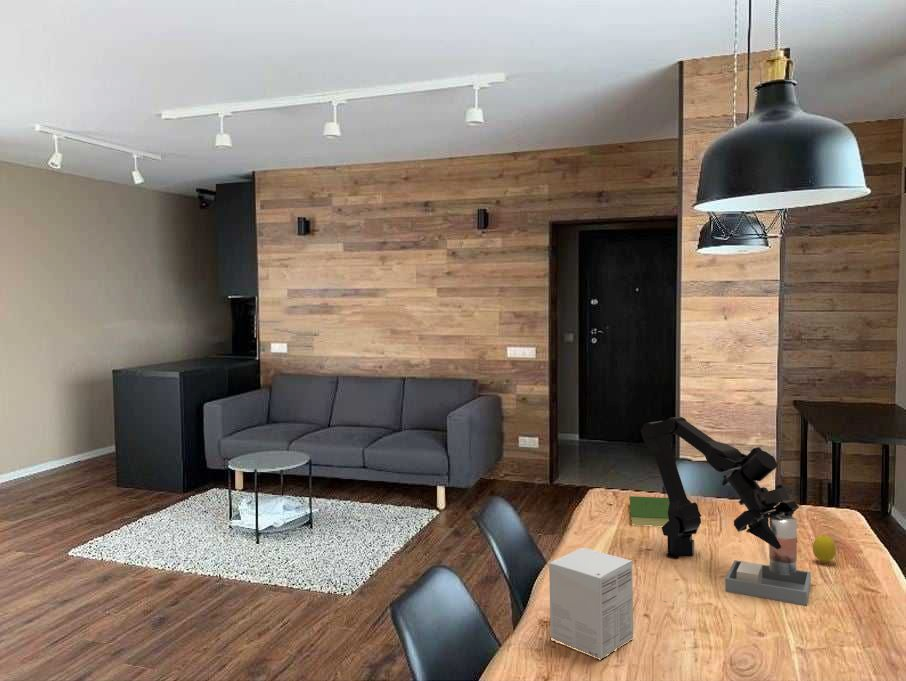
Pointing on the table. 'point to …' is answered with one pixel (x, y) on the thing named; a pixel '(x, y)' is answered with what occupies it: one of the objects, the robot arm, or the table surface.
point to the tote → (772, 585)
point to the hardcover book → (649, 510)
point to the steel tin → (783, 545)
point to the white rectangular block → (749, 572)
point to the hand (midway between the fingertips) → (787, 545)
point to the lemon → (824, 548)
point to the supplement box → (591, 601)
